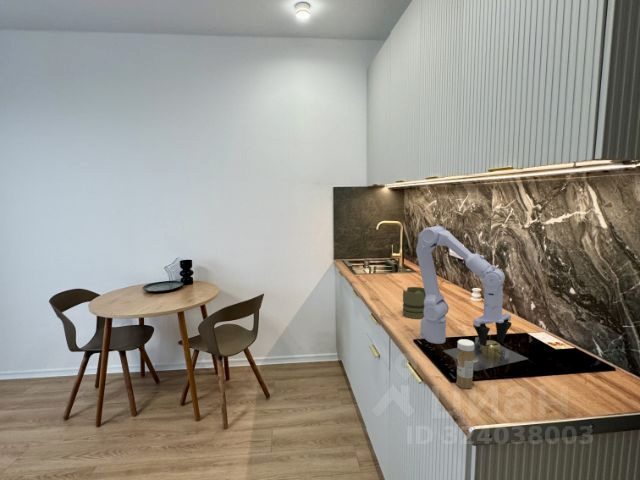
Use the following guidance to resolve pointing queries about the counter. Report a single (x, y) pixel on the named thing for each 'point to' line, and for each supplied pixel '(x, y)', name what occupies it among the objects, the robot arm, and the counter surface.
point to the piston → (413, 302)
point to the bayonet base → (488, 357)
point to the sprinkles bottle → (465, 363)
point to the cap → (491, 349)
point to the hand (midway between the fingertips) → (491, 343)
